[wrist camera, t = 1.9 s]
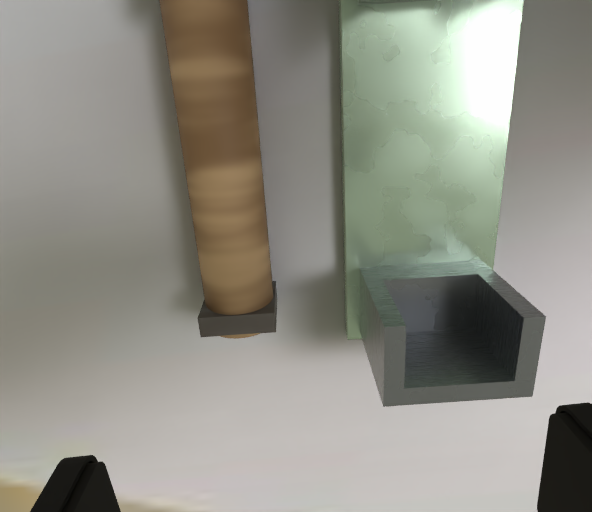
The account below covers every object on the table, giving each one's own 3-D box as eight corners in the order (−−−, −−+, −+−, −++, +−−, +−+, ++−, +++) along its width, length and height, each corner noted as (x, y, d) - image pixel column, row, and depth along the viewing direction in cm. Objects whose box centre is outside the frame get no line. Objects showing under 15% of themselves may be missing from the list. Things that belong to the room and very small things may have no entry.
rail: (162, -37, 21) (135, -65, 17) (248, -43, 21) (240, -72, 17) (212, 306, 28) (201, 341, 24) (277, 302, 28) (276, 336, 24)
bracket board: (336, -112, 20) (366, -225, 13) (527, -124, 20) (666, -244, 13) (345, 331, 29) (367, 415, 22) (479, 322, 29) (546, 403, 22)
